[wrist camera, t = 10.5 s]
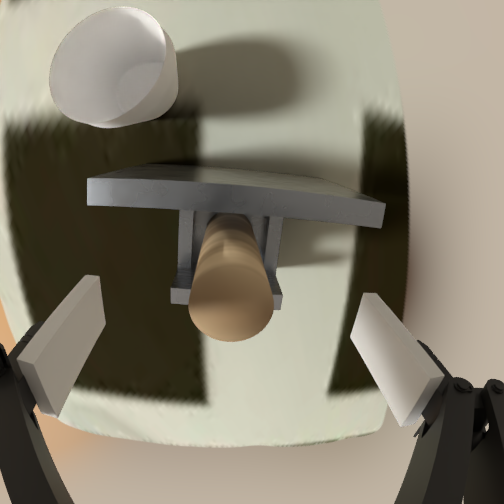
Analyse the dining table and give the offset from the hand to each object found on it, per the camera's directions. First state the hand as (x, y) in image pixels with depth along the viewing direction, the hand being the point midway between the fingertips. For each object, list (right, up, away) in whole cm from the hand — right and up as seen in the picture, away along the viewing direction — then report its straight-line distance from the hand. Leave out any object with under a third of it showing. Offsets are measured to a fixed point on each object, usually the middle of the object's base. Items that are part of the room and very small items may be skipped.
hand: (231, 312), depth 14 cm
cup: (-10, +19, +12) cm, 25 cm away
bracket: (-1, +6, +17) cm, 18 cm away
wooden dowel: (-1, +5, +14) cm, 15 cm away
